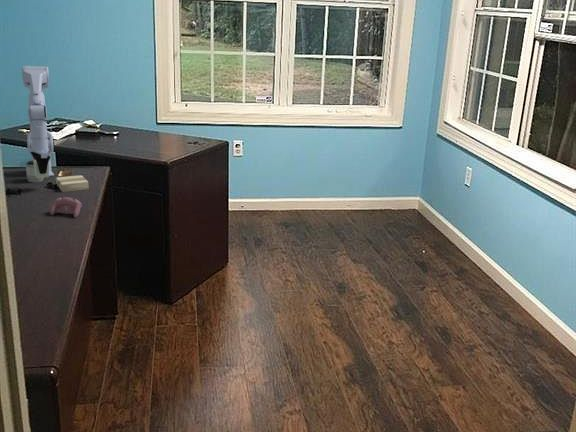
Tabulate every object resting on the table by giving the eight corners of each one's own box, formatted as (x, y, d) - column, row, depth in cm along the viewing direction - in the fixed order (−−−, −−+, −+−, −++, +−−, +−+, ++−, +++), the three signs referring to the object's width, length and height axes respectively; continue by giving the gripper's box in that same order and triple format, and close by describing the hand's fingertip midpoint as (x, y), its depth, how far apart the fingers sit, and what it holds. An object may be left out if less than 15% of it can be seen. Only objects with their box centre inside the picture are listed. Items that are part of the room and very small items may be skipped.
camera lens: (31, 177, 247) (29, 159, 244) (46, 179, 247) (45, 160, 244) (24, 182, 241) (22, 163, 238) (39, 183, 241) (38, 164, 238)
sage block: (34, 174, 233) (33, 159, 231) (46, 173, 236) (45, 158, 234) (36, 178, 230) (35, 162, 228) (49, 176, 232) (48, 161, 230)
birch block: (56, 184, 241) (56, 177, 240) (82, 182, 246) (81, 175, 245) (62, 192, 233) (62, 184, 232) (88, 189, 238) (88, 182, 237)
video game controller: (81, 219, 212) (84, 199, 213) (76, 217, 208) (79, 197, 209) (54, 216, 213) (57, 196, 214) (48, 214, 209) (51, 194, 209)
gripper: (24, 133, 231) (26, 167, 236) (31, 142, 220) (34, 177, 225) (43, 132, 235) (45, 166, 240) (52, 141, 224) (54, 176, 228)
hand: (41, 171), depth 232 cm, fingers closed on sage block, 4 cm apart
